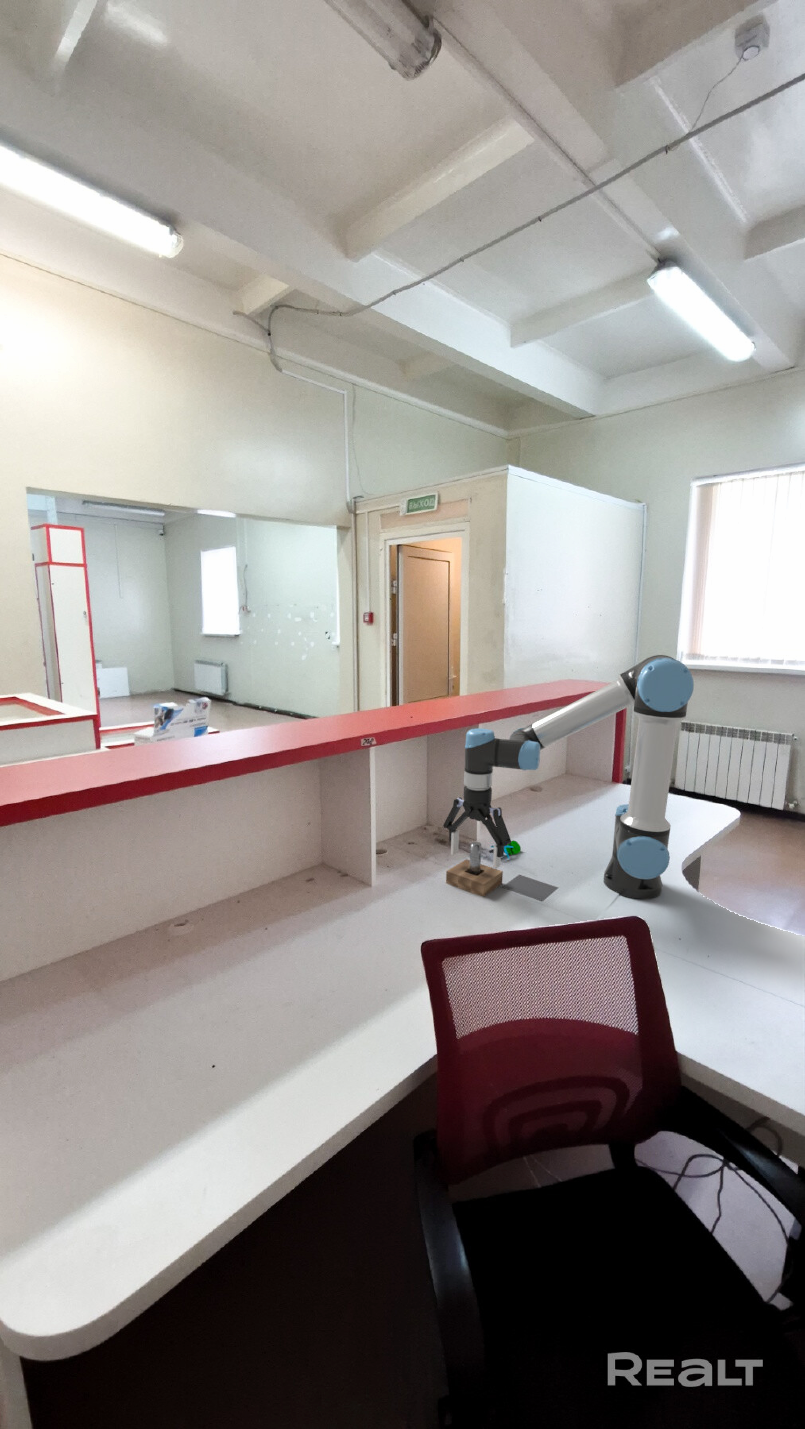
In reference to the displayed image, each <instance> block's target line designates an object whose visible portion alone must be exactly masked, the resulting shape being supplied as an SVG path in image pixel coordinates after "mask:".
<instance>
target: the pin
mask: <svg viewBox="0 0 805 1429" xmlns="http://www.w3.org/2000/svg"><path fill="white" fill-rule="evenodd" d="M469 860H470V869H469V873H470V874H473V875H476V876H478V875H479V874H480V868H481V864H482V863H481V862H482V842H478V841H471V842H470V846H469Z"/></svg>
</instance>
